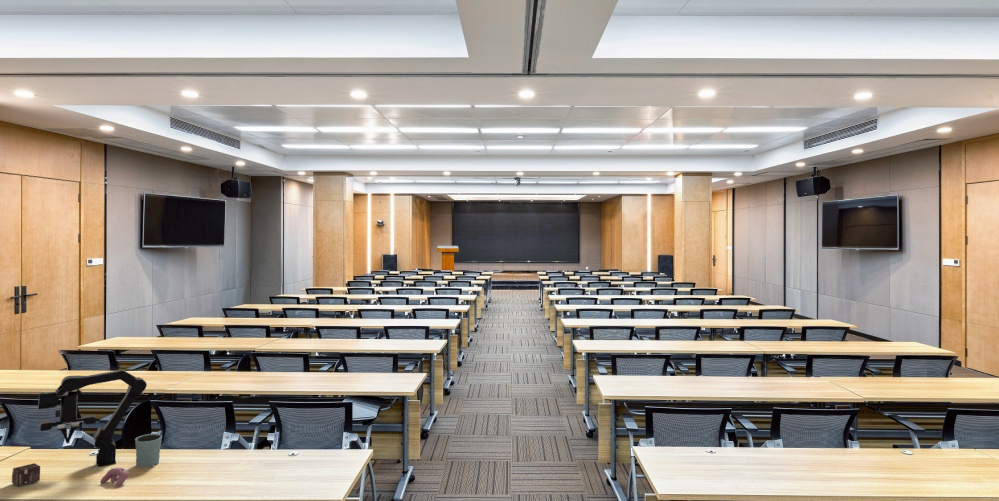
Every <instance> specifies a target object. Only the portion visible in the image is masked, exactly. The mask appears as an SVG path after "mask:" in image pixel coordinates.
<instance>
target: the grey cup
mask: <svg viewBox="0 0 999 501" xmlns="http://www.w3.org/2000/svg"><path fill="white" fill-rule="evenodd" d="M162 438H163V435H161V434H158V433H150V434H149V433H148V434H143V435H140V436H138V437H136V438H134V441H135V442H134V443H135V456H136V458H135V463H136V464H135V466H136V467H137V468H138V467H147V468H151V467H150V466H152V467H154V466H153V465H155V466H157V465H159V463H160V453H161V445H162ZM156 464H157V465H156Z"/></svg>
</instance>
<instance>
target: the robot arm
mask: <svg viewBox="0 0 999 501" xmlns="http://www.w3.org/2000/svg"><path fill="white" fill-rule="evenodd" d="M114 381H122V382H123V383H125V384H127V385H128V386H127V389H126V392H125V396H124V397H123V398H122V400H121V401H120V402H119V404H118V406H117V407H116V409H115V410H114V412H113V413H112V415H111V417H110V418H109V419H108V421H107V423H106V424H105V425H104V426H103V427H101V426H99V427H98V428H97V430H96V432H95V433H94V434H93V435H92V436H93V438H92V439H93V440H92V441H93V444H94V447H95V448H96V449H98V450H97V452H96V454H95V464H96V465H97V467H105V466H109V465H110V466H111V465H114V464H117V461H116V459H117V458H116V456H117V455H116V452H117V451H116V450H117V445H116V443H115V441H114V440H113V437H114V434H115V431H116V428H117V427H118V426H119V424H120V423H121V421H122V419H123V418H124V416H125V415H126V414H127V412H128V411H129V409H130V407H131V405H132V404H133V402H134V401H135V400H136V399H137V398H139V397H140V395H141V394H142V393H143V392H144V391H145V390H146V388H147V386H148V385H147V382H146V380H144V378H142V377H140V376H139V377H138V376H137V377H136V376H134V375H133V374H132V373H129V372H128V371H127V370H125V369H118V370H113V371H107V372H103V373H102V372H101V373H95V374H89V375H79V374H78V375H68V376H67V375H66V376H64V378H63V379H62V380H61V382H60V385H59V386H58V387H57V388H56V389H55V391H53V392H52V391H50V392H40V393H39V395H38V400H37V404H38V405H37V410H38V411H39V410H40V411H41V410H47V409H48V410H49V409H55V408H56V407H57V406H59V403H60V406H59V407H60V409H56V410H54V419H59V421H53V420H52V419H50V420H49V419H48V420H43V421H40V423H39V431H40V432H44V431H50V430H51V429H53V428H54V427H56V430H57V431H60V432H61V434H62V435H63V438H64V440H65V442H66V444H68V443H70V441H71V439H72V437H73V434H74V433H75V431H76V430H77V429H78V428H80V424H82V423H84V424H85V425H87V426H88V425H93V424H96V421H97V420H96V419H97V418H96V416H95V414H86V415H83V417H82V418H78V397H79V396H83V395H84V392H83V391H82V390H80V389H82V388H85V387H87V386H91V385H98V384H103V383H108V382H114ZM68 425H69V429H67V426H68ZM67 430H68V431H67Z"/></svg>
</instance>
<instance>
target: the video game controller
mask: <svg viewBox="0 0 999 501" xmlns="http://www.w3.org/2000/svg"><path fill="white" fill-rule="evenodd" d="M129 476H130V471H128V470H127V469H125V468H123V467H112V468H110V469H109V470H108V471H107V472H106V474H104V475H103V477H102V478H101V479H100V484H101V485H103V484H106V483H107V482H108V481H109V480H110V482H111V483H115V484H114V485H115V487H116V488H118V487H121V486H122V485H123V484H124V483H125V482H126V480H127V479H128V478H129Z"/></svg>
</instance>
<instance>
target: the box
mask: <svg viewBox="0 0 999 501" xmlns="http://www.w3.org/2000/svg"><path fill="white" fill-rule="evenodd" d="M40 480H41V466H40V465H39V464H37V463H35V462H34V463H29V464H26V465H22V466H17V467H13V468H12V474H11V484H13V485H14V486H16V487H20V486H23V485H25V484H29V483H33V482H34V483H36V482H40ZM25 486H26V485H25Z"/></svg>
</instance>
